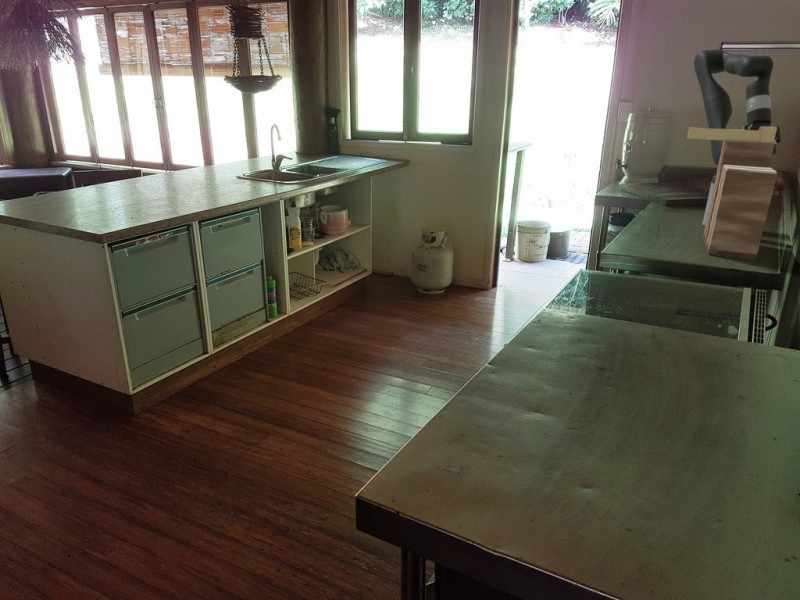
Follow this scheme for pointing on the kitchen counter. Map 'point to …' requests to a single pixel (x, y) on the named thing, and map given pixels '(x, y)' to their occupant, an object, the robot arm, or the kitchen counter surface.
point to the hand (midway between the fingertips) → (761, 155)
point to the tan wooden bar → (734, 134)
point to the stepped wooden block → (740, 199)
